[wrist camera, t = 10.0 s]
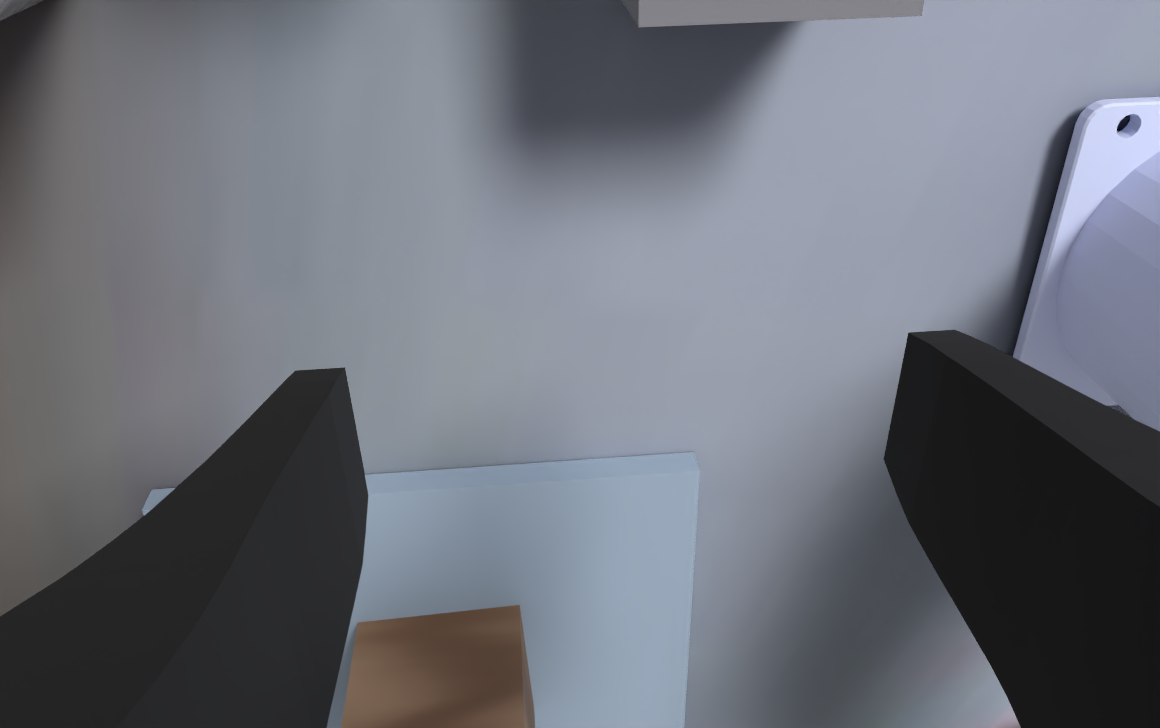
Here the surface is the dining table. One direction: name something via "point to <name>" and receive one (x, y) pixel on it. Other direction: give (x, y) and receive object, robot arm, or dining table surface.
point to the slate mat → (547, 574)
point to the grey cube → (762, 10)
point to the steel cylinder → (15, 7)
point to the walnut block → (441, 672)
